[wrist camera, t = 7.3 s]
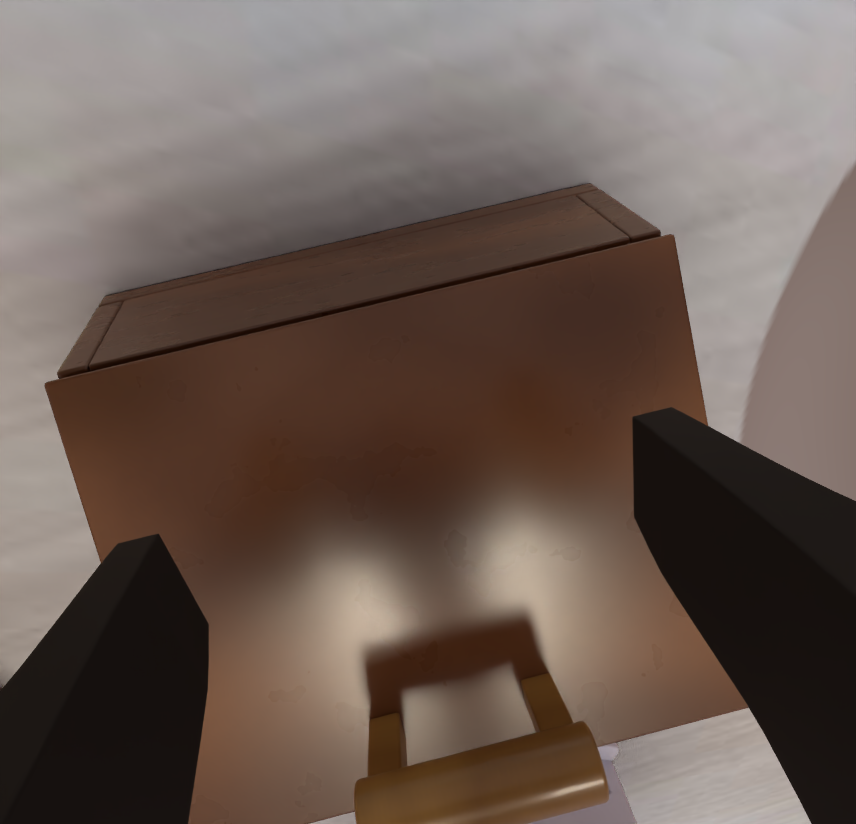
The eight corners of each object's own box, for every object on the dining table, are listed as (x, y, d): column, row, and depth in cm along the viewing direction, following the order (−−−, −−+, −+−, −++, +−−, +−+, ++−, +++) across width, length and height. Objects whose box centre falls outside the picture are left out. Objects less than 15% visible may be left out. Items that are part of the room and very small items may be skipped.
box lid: (746, 692, 16) (861, 809, 12) (199, 835, 16) (139, 1005, 12) (663, 236, 15) (766, 204, 11) (55, 380, 14) (-68, 402, 10)
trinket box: (604, 475, 24) (658, 561, 21) (235, 567, 24) (223, 672, 20) (591, 181, 18) (661, 229, 15) (103, 295, 18) (54, 373, 14)
